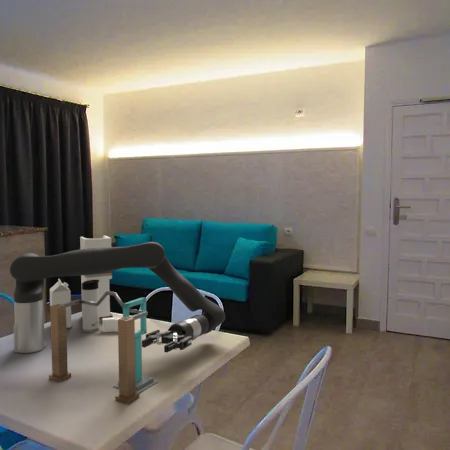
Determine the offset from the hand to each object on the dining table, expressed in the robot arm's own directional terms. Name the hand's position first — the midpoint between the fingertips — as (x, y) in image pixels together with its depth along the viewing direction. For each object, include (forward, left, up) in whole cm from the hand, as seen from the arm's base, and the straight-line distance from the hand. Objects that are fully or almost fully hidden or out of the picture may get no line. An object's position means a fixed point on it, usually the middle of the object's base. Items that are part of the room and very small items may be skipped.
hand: (153, 346), depth 133 cm
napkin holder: (-9, +46, -9) cm, 48 cm away
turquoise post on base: (-6, -6, -8) cm, 11 cm away
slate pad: (-6, -6, -8) cm, 12 cm away
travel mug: (-19, +49, -9) cm, 53 cm away
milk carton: (-31, +57, -9) cm, 65 cm away
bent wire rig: (-15, -3, -8) cm, 18 cm away
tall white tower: (-17, +65, -9) cm, 68 cm away
